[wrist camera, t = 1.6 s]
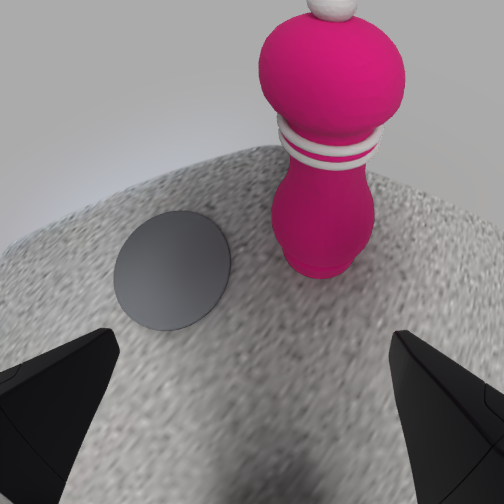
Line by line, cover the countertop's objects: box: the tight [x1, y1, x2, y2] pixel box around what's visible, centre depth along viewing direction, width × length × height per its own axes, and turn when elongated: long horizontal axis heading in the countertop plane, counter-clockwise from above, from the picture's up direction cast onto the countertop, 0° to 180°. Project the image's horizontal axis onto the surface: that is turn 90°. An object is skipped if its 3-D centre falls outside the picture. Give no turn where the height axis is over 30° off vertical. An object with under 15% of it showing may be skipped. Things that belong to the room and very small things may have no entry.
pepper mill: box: [259, 0, 405, 279], centre depth 15 cm, size 7×7×20 cm
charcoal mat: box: [114, 211, 231, 331], centre depth 25 cm, size 11×11×1 cm
